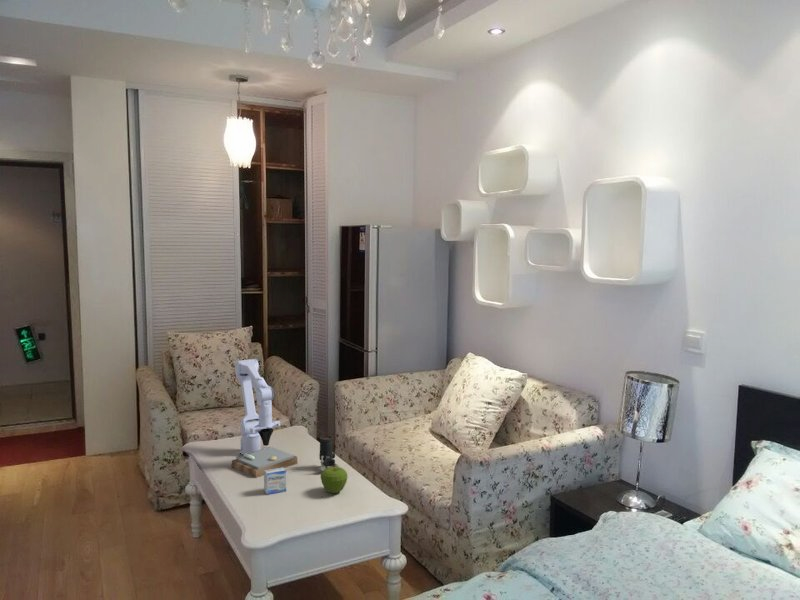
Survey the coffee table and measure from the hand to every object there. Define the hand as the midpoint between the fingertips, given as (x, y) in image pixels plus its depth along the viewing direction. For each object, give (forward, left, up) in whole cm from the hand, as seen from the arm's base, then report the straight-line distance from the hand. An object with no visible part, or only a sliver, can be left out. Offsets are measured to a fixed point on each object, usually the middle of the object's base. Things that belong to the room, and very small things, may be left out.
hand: (265, 445), depth 267 cm
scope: (+23, +15, -10) cm, 29 cm away
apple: (+43, +1, -10) cm, 44 cm away
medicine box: (+25, -14, -10) cm, 30 cm away
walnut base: (-1, 0, -9) cm, 9 cm away
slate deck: (-1, 0, -6) cm, 6 cm away
